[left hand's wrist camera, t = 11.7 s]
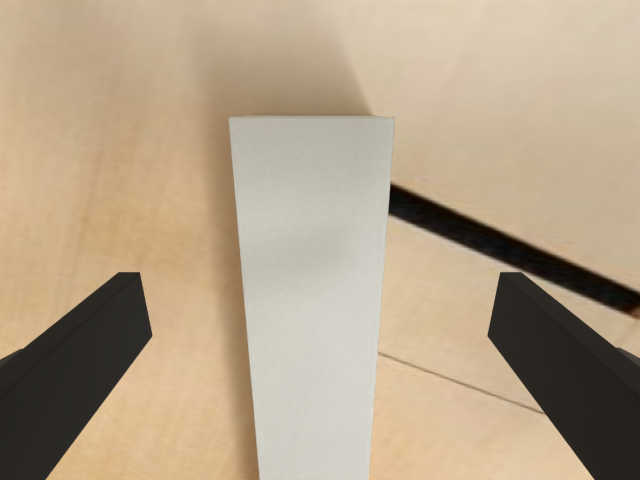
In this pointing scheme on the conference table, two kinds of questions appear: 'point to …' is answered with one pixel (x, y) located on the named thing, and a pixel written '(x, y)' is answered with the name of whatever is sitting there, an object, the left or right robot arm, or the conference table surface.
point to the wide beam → (312, 285)
